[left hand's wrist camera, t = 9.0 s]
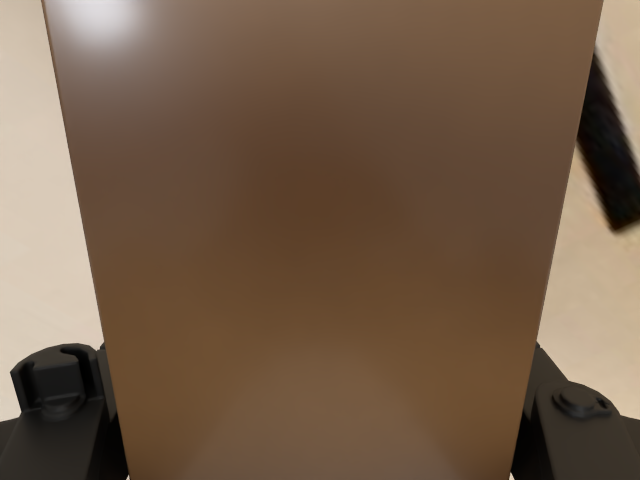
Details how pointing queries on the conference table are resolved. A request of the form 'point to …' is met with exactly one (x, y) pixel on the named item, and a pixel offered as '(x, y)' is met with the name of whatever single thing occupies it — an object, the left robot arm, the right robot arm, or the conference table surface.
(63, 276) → the conference table surface
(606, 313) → the conference table surface
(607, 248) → the conference table surface
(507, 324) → the post
